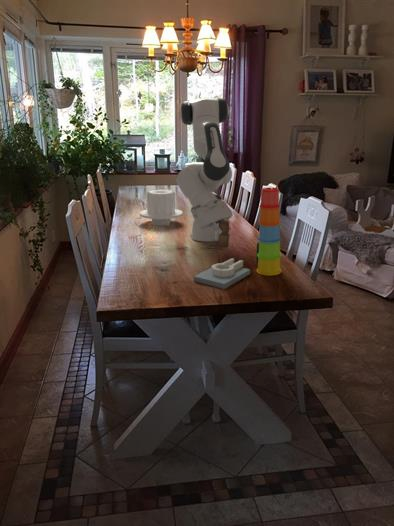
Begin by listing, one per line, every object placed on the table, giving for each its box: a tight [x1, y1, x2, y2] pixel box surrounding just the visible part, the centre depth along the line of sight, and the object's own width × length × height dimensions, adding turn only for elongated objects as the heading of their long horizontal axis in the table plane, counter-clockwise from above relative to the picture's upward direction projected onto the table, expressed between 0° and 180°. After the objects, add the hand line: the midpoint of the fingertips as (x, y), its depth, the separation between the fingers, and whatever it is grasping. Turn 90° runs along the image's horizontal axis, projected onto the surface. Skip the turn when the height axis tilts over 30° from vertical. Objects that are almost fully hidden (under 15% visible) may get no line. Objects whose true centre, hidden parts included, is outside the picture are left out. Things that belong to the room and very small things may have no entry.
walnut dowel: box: [217, 220, 230, 248], centre depth 169 cm, size 4×4×10 cm
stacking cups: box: [256, 187, 282, 277], centre depth 176 cm, size 10×10×35 cm
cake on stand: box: [139, 189, 183, 227], centre depth 256 cm, size 25×25×19 cm
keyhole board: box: [193, 257, 251, 290], centre depth 175 cm, size 22×14×4 cm, turn 145°
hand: (225, 231), depth 169 cm, fingers closed on walnut dowel, 4 cm apart
